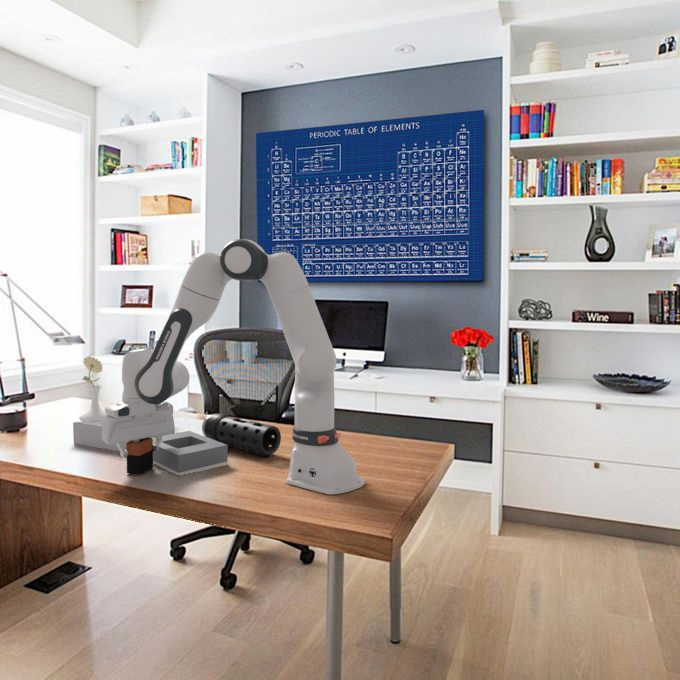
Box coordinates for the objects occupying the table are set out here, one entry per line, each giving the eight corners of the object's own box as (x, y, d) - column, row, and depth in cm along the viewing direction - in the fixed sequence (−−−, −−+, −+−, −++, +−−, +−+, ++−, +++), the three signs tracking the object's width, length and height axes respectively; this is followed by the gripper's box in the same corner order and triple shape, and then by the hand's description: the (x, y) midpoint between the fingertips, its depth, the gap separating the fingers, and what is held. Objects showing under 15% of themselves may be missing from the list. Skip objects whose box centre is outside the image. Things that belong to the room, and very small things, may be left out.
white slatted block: (174, 445, 195) (174, 423, 194) (143, 457, 182) (143, 433, 181) (107, 434, 207) (107, 413, 206) (73, 444, 194) (73, 422, 193)
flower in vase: (117, 421, 225) (115, 356, 223) (88, 426, 216) (87, 359, 214) (99, 416, 233) (97, 353, 231) (71, 421, 224) (69, 356, 222)
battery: (126, 474, 164) (125, 439, 163) (140, 467, 171) (140, 433, 170) (139, 475, 163) (139, 440, 162) (153, 468, 169) (153, 434, 168)
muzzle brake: (260, 461, 178) (260, 428, 177) (200, 445, 195) (199, 414, 194) (281, 454, 186) (281, 422, 185) (221, 439, 203) (221, 410, 202)
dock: (227, 464, 174) (227, 443, 174) (178, 476, 163) (178, 454, 162) (189, 448, 190) (189, 429, 189) (142, 458, 179) (142, 438, 178)
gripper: (167, 399, 174) (168, 444, 176) (98, 408, 160) (99, 458, 161) (178, 402, 170) (178, 449, 171) (108, 412, 156) (109, 463, 157)
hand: (139, 453), depth 166 cm, fingers closed on battery, 8 cm apart
